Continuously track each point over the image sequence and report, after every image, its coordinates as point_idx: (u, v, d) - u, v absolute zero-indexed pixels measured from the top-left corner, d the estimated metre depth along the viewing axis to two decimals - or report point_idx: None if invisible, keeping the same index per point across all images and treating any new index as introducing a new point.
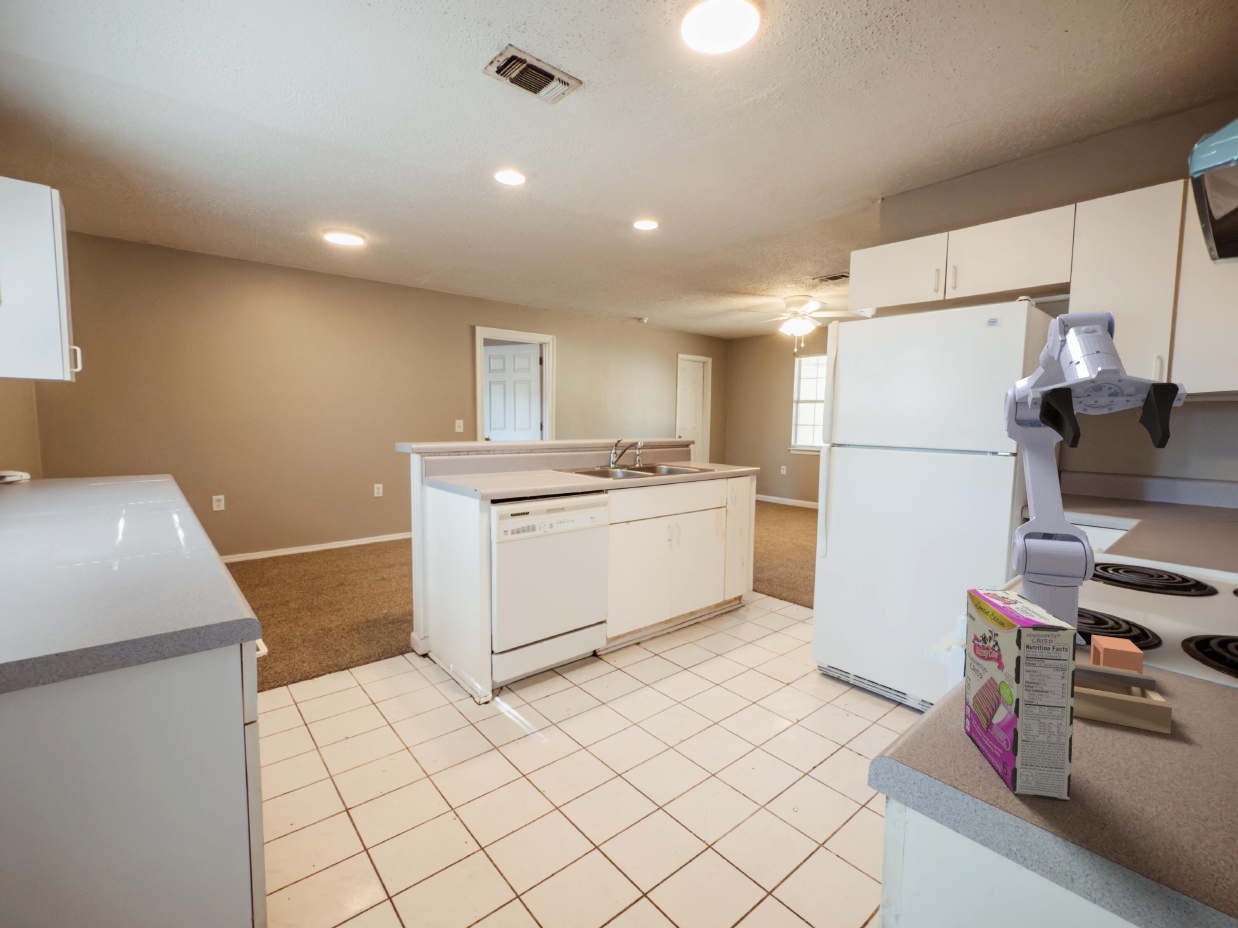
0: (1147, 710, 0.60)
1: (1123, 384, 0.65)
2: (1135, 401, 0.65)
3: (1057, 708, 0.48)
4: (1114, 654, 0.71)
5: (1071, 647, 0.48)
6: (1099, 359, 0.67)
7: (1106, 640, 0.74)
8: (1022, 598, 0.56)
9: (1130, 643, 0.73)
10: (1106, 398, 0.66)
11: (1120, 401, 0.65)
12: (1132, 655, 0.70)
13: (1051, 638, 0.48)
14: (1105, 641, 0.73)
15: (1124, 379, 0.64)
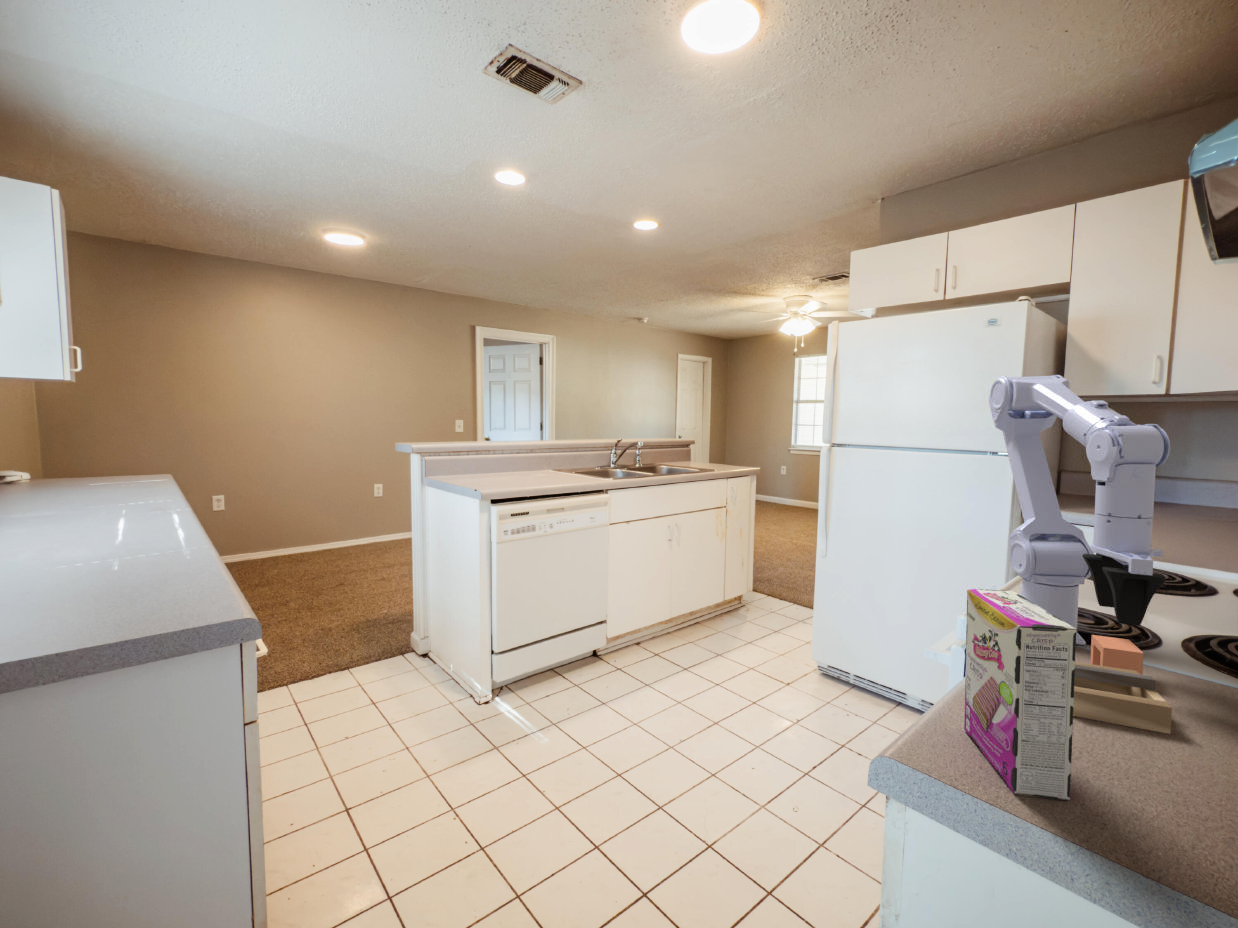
0: (1147, 710, 0.60)
1: None
2: None
3: (1057, 708, 0.48)
4: (1114, 654, 0.71)
5: (1071, 647, 0.48)
6: None
7: (1106, 640, 0.74)
8: (1022, 598, 0.56)
9: (1130, 643, 0.73)
10: None
11: (1116, 558, 0.73)
12: (1132, 655, 0.70)
13: (1050, 638, 0.48)
14: (1105, 641, 0.73)
15: None
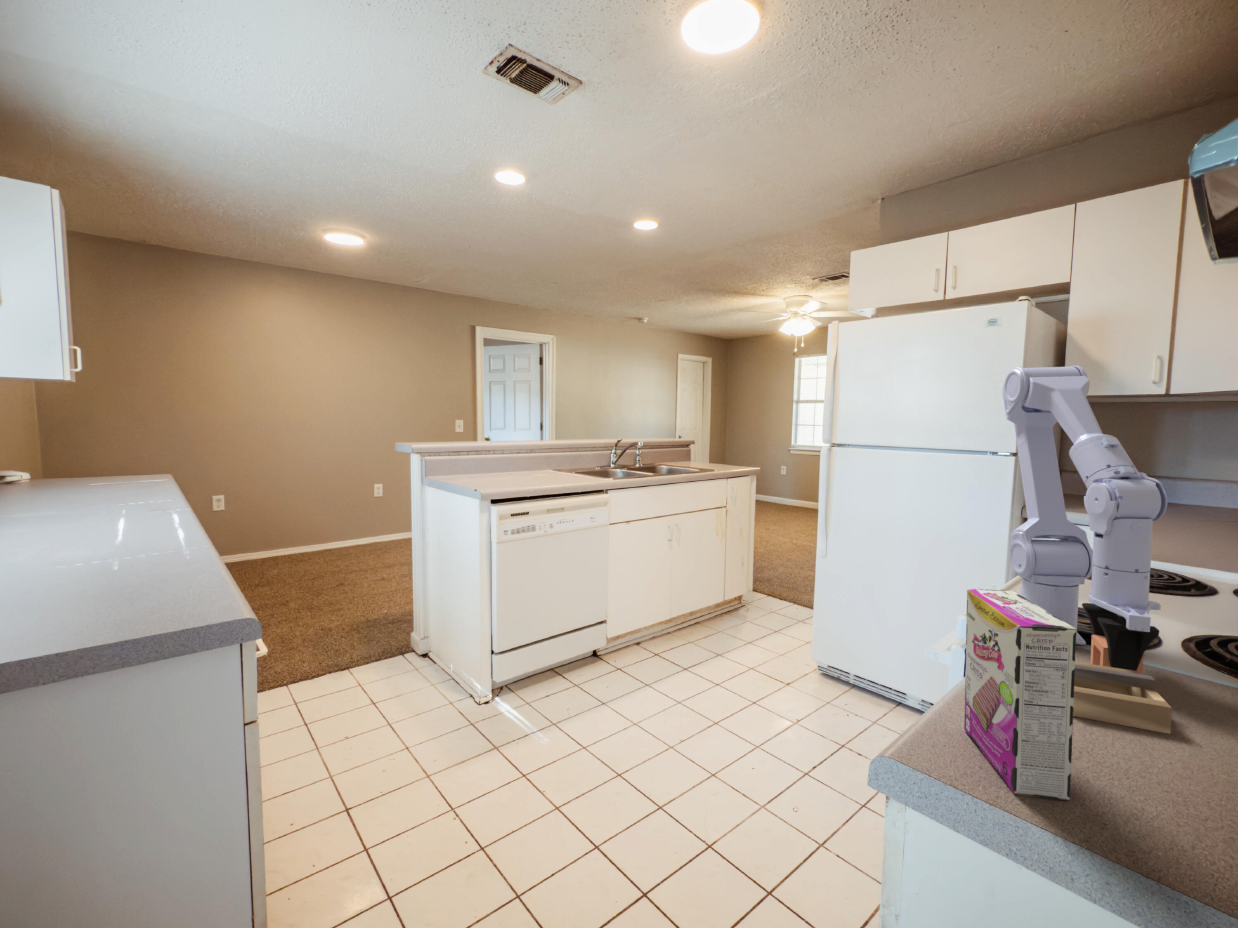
0: (1147, 710, 0.60)
1: None
2: None
3: (1057, 708, 0.48)
4: None
5: (1071, 647, 0.48)
6: None
7: None
8: (1022, 598, 0.56)
9: None
10: None
11: None
12: None
13: (1050, 638, 0.48)
14: (1105, 641, 0.73)
15: None
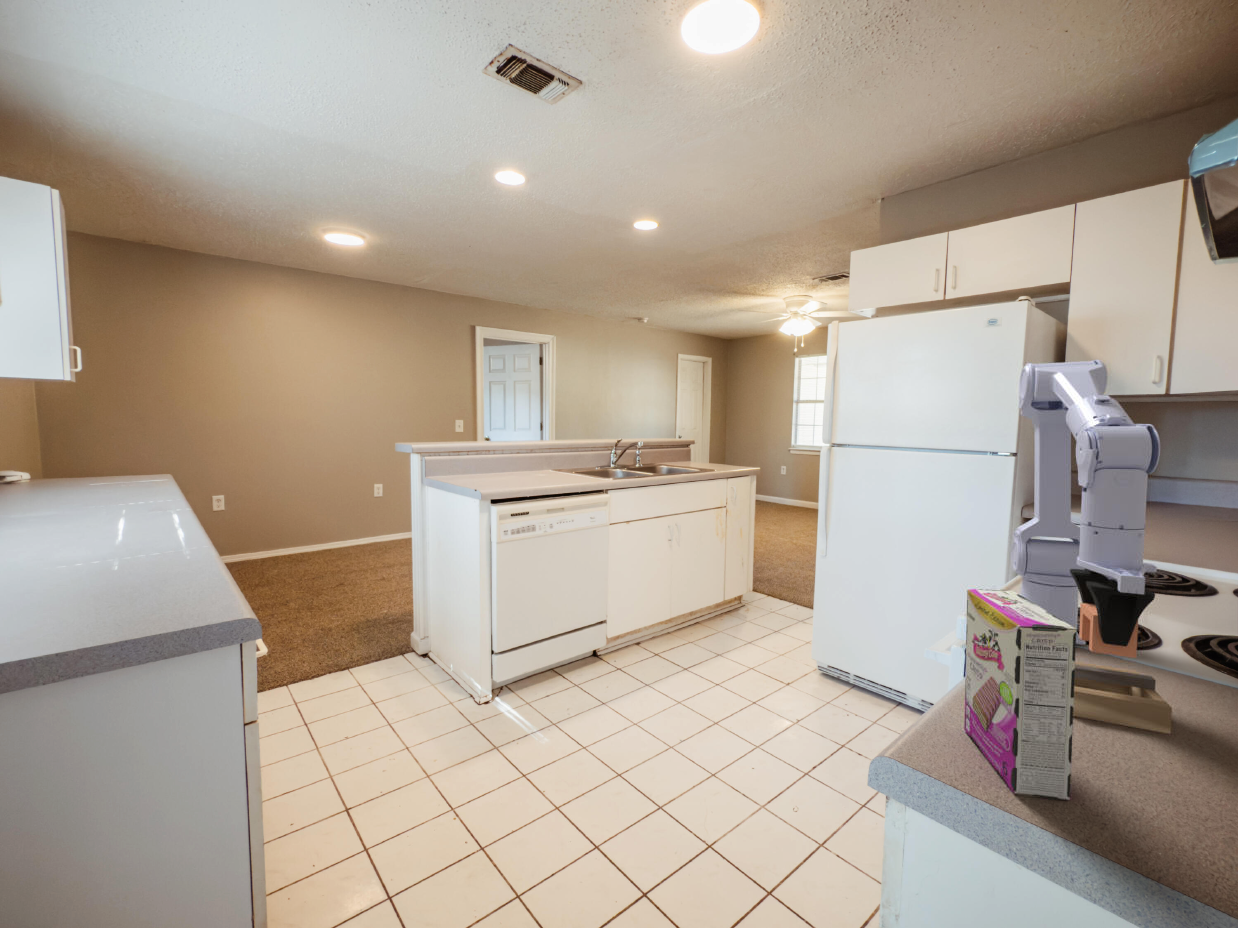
0: (1147, 710, 0.60)
1: None
2: None
3: (1057, 708, 0.48)
4: None
5: (1071, 647, 0.48)
6: None
7: None
8: (1022, 598, 0.56)
9: None
10: None
11: None
12: None
13: (1050, 638, 0.48)
14: (1095, 609, 0.66)
15: None
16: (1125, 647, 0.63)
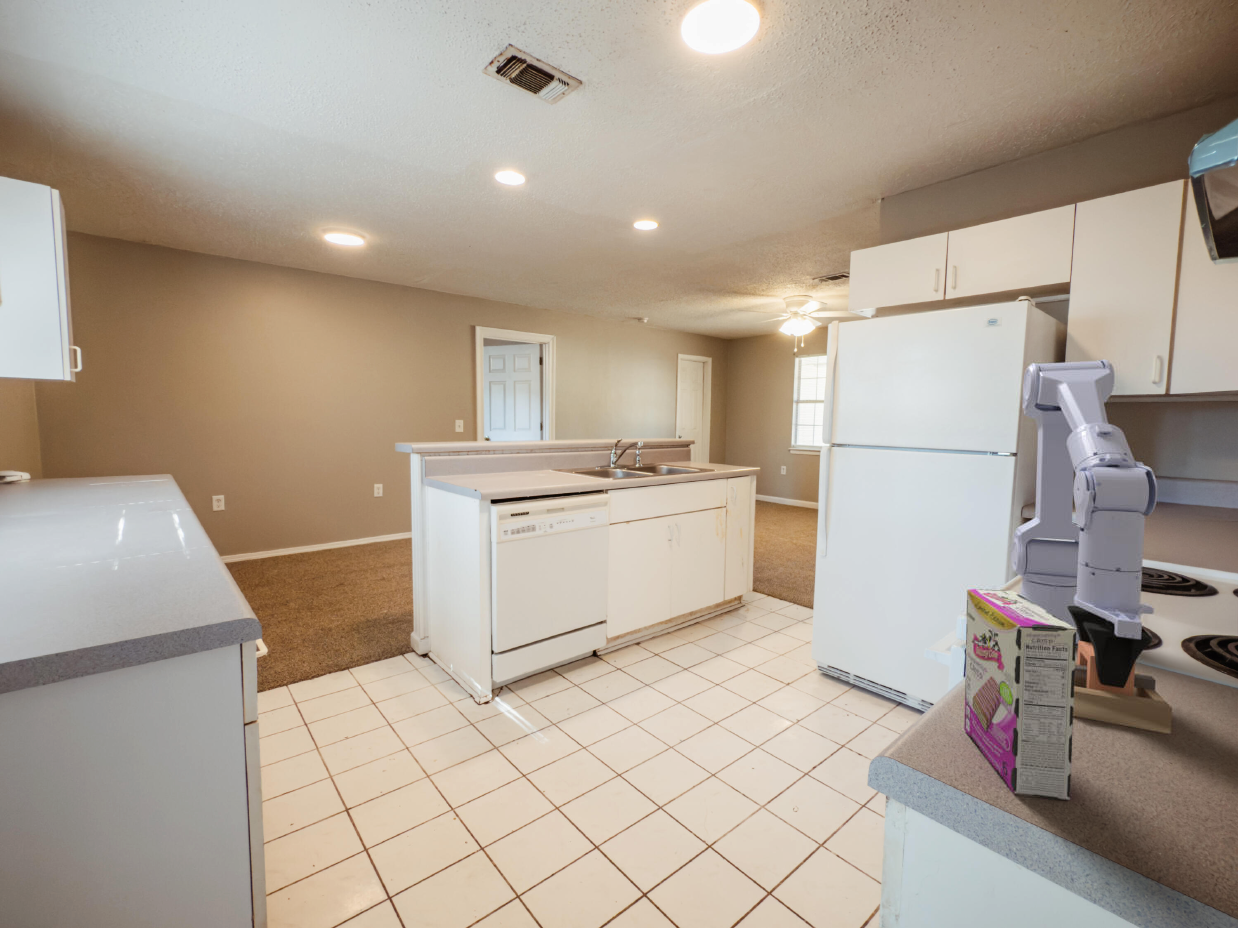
0: (1147, 710, 0.60)
1: None
2: None
3: (1057, 708, 0.48)
4: None
5: (1071, 647, 0.48)
6: None
7: None
8: (1022, 598, 0.56)
9: None
10: None
11: None
12: None
13: (1050, 638, 0.48)
14: (1093, 649, 0.66)
15: None
16: (1122, 688, 0.63)
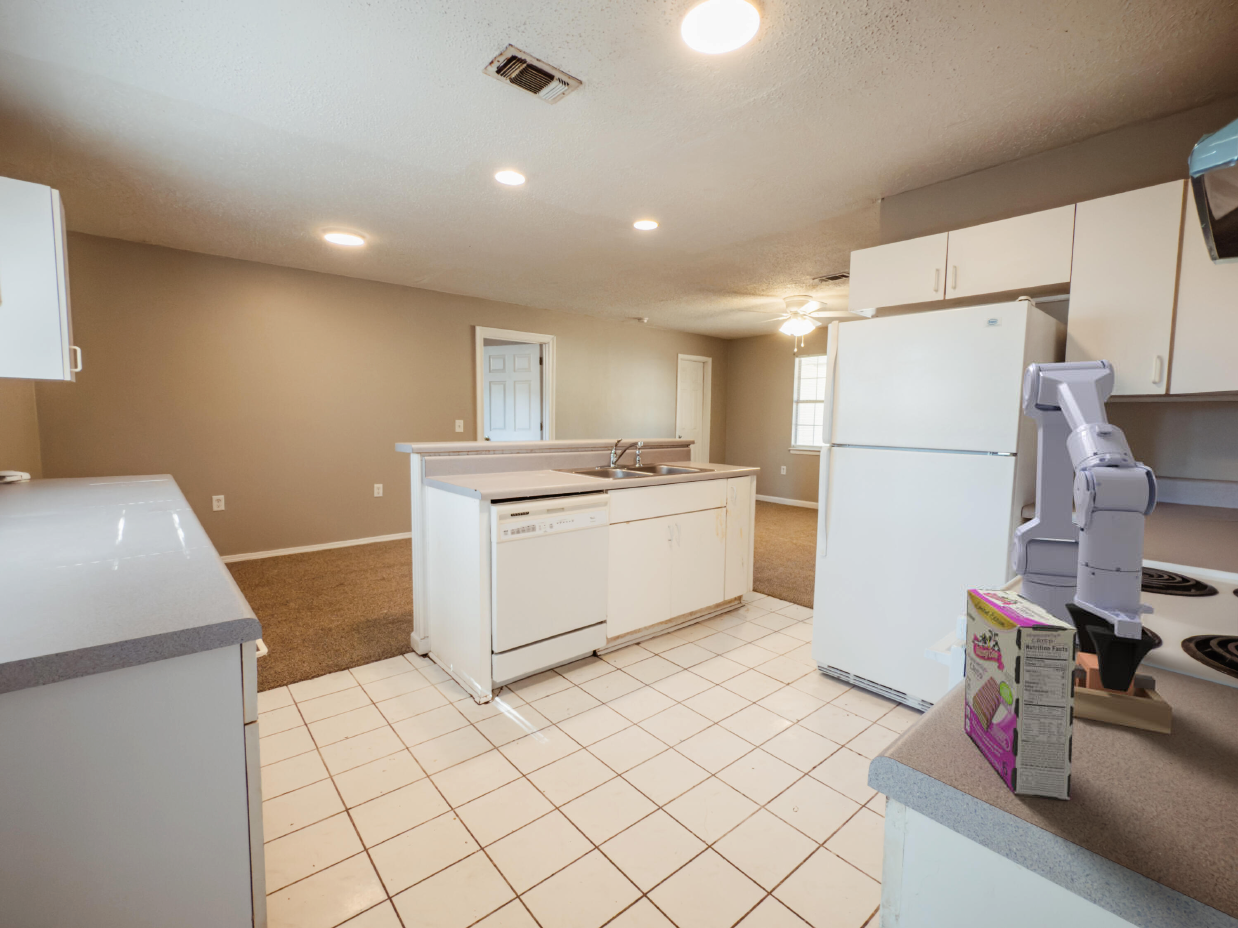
0: (1147, 710, 0.60)
1: None
2: None
3: (1057, 708, 0.48)
4: None
5: (1071, 647, 0.48)
6: None
7: (1092, 659, 0.66)
8: (1022, 598, 0.56)
9: None
10: None
11: None
12: None
13: (1050, 638, 0.48)
14: (1092, 660, 0.66)
15: None
16: None
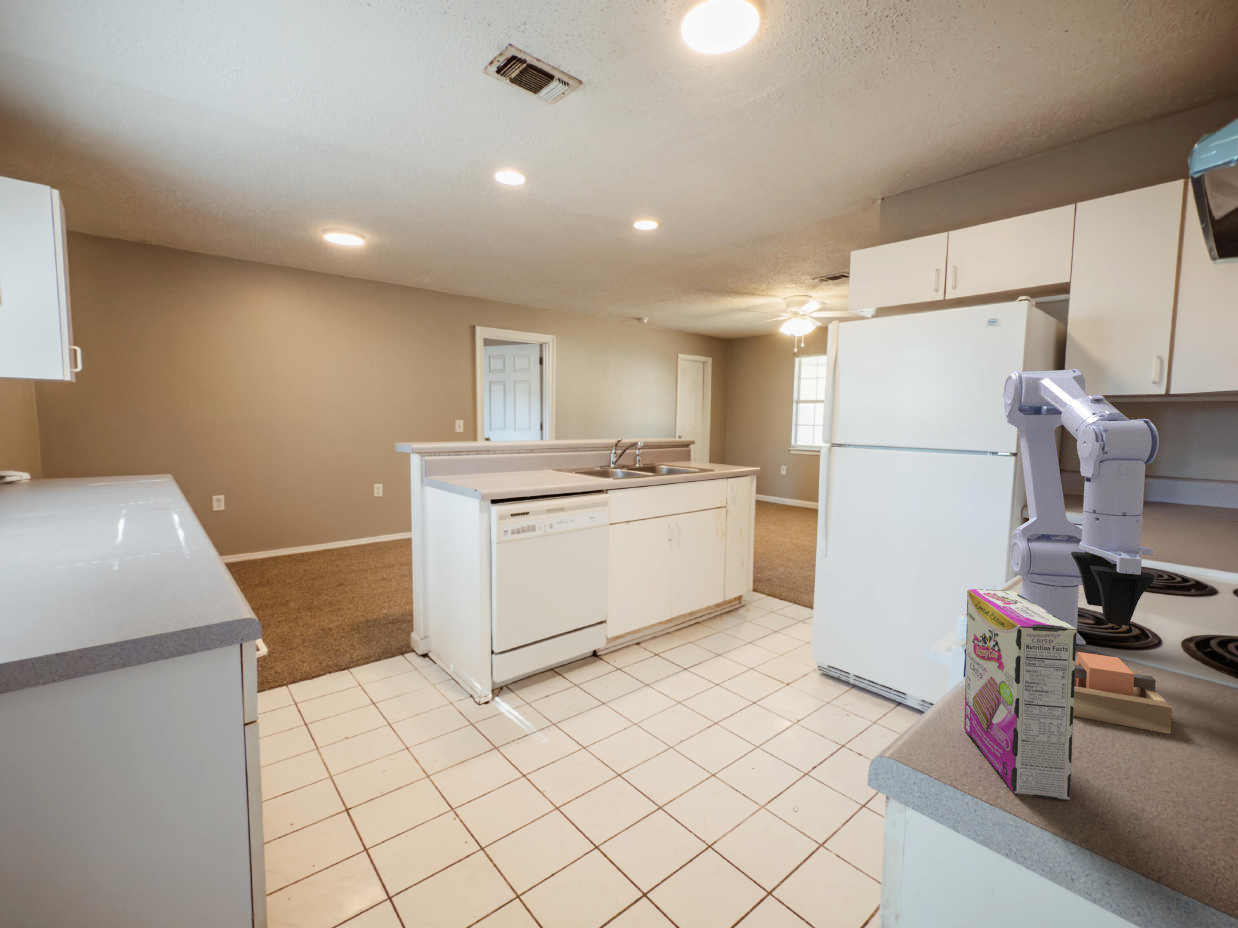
0: (1147, 710, 0.60)
1: None
2: None
3: (1057, 708, 0.48)
4: (1101, 675, 0.64)
5: (1071, 647, 0.48)
6: None
7: (1092, 659, 0.66)
8: (1022, 598, 0.56)
9: (1119, 662, 0.65)
10: None
11: None
12: (1121, 676, 0.63)
13: (1051, 638, 0.48)
14: (1092, 660, 0.66)
15: None
16: None
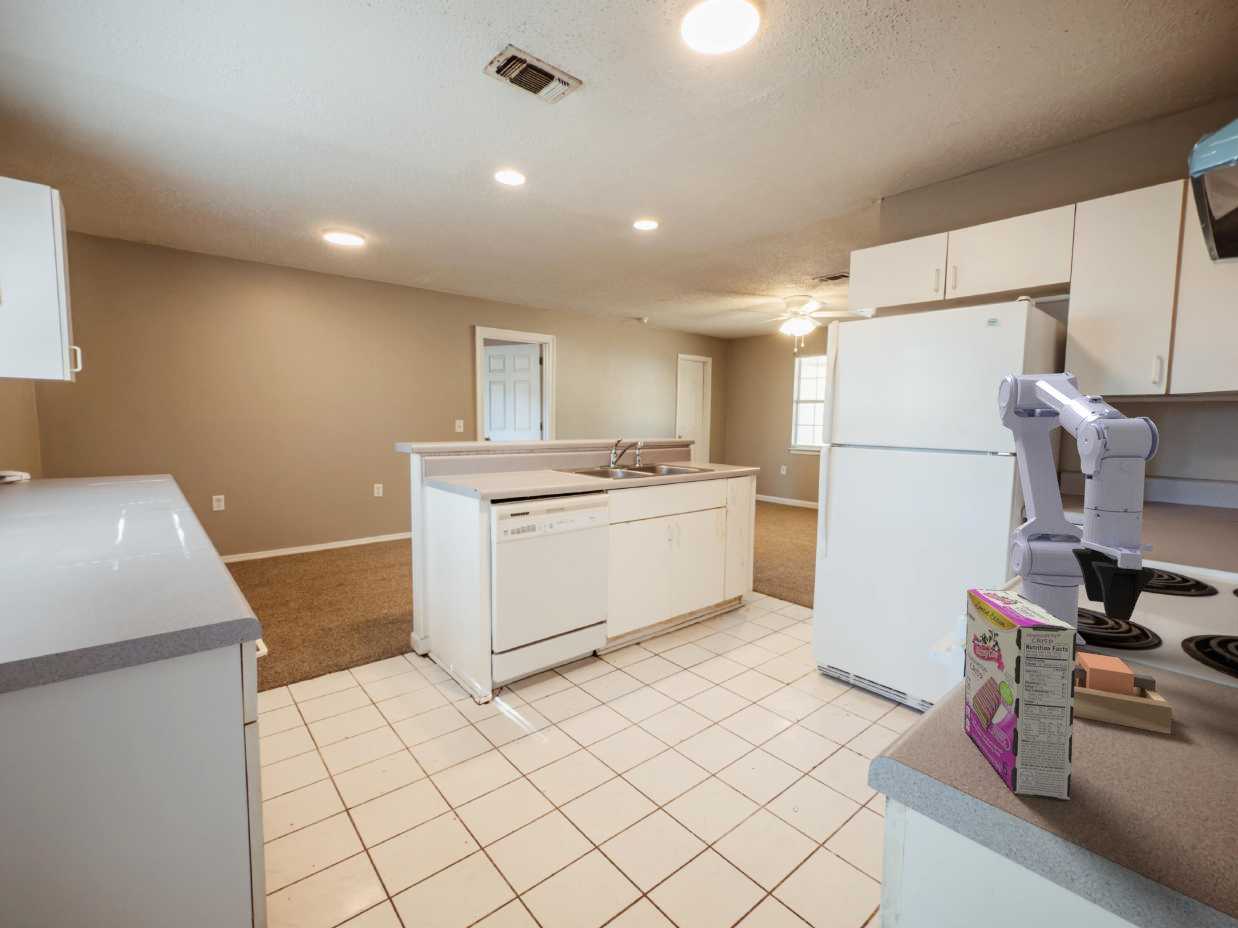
0: (1147, 710, 0.60)
1: None
2: None
3: (1057, 708, 0.48)
4: (1101, 675, 0.64)
5: (1071, 647, 0.48)
6: None
7: (1092, 659, 0.66)
8: (1022, 598, 0.56)
9: (1119, 662, 0.65)
10: None
11: None
12: (1121, 676, 0.63)
13: (1051, 638, 0.48)
14: (1092, 660, 0.66)
15: None
16: None
